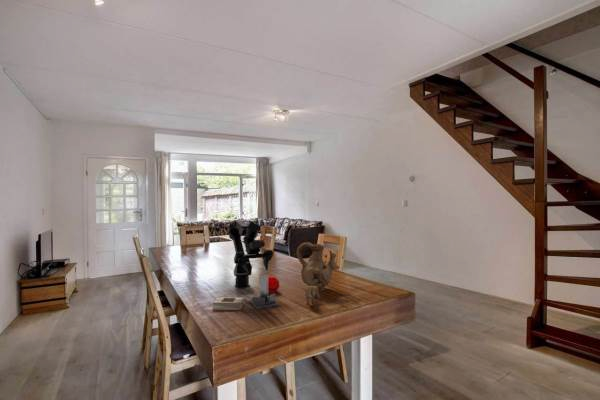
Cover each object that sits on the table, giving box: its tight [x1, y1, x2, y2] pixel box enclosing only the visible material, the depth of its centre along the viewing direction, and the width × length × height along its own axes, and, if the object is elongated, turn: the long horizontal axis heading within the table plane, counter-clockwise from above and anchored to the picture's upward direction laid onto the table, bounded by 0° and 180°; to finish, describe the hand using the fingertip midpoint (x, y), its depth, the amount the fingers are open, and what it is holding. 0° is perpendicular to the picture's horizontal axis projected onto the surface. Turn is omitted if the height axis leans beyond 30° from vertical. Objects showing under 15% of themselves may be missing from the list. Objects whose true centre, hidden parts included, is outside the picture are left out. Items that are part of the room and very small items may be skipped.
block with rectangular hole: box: [212, 296, 245, 311], centre depth 134 cm, size 8×12×3 cm, turn 90°
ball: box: [268, 275, 280, 294], centre depth 158 cm, size 8×8×8 cm
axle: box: [258, 273, 269, 303], centre depth 138 cm, size 4×4×12 cm
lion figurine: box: [304, 285, 321, 306], centre depth 140 cm, size 15×5×9 cm, turn 167°
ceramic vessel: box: [296, 241, 340, 292], centre depth 161 cm, size 18×19×25 cm
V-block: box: [249, 293, 279, 310], centre depth 138 cm, size 10×11×4 cm
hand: (258, 271), depth 144 cm, fingers open, 9 cm apart
